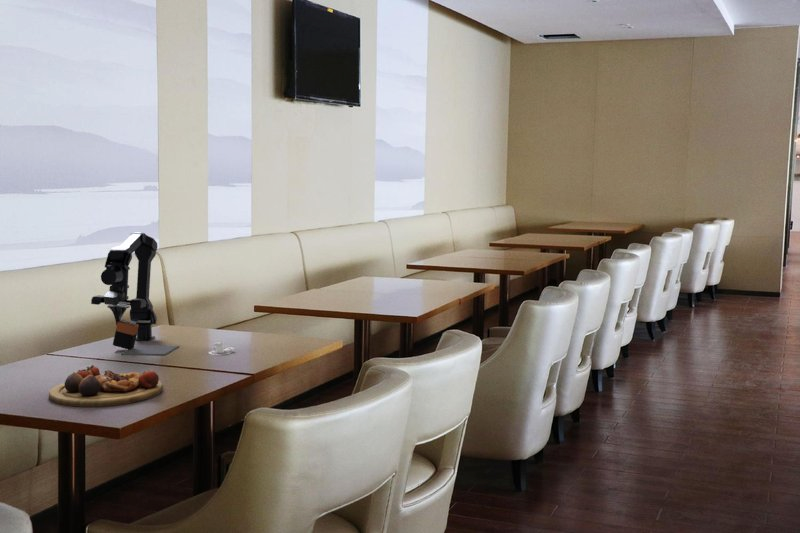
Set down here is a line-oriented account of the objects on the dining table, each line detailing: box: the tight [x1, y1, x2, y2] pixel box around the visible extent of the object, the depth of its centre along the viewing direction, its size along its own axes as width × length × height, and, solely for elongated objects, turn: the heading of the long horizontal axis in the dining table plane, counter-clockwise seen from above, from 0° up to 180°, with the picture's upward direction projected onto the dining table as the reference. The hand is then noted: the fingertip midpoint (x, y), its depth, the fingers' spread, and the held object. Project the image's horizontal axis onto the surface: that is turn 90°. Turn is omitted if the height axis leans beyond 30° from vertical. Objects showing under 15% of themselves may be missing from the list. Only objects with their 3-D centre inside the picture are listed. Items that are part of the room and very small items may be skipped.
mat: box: [120, 344, 180, 357], centre depth 328 cm, size 16×16×1 cm
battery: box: [112, 318, 139, 350], centre depth 328 cm, size 4×7×10 cm, turn 85°
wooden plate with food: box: [48, 364, 164, 408], centre depth 264 cm, size 32×32×8 cm
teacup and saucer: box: [208, 341, 235, 356], centre depth 324 cm, size 9×8×4 cm
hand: (117, 325), depth 328 cm, fingers closed, pressing on battery
